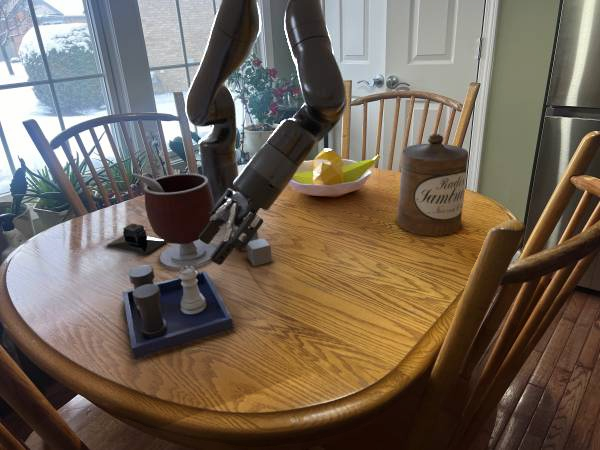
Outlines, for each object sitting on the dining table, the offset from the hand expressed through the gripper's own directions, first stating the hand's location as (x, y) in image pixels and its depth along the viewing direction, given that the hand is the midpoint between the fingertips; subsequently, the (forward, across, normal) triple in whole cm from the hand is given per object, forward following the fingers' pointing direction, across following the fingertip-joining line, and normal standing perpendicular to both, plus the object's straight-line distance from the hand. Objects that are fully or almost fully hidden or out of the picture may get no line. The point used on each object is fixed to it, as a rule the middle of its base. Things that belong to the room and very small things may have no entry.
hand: (208, 251), depth 75 cm
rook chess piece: (+10, 0, +5) cm, 11 cm away
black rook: (+15, -3, -1) cm, 16 cm away
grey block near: (-1, -12, +17) cm, 21 cm away
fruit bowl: (-25, -43, +41) cm, 64 cm away
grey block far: (-1, -20, +17) cm, 26 cm away
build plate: (+15, -34, +1) cm, 37 cm away
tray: (+13, 0, +3) cm, 13 cm away
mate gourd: (+9, -22, +7) cm, 25 cm away
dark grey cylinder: (+15, +4, -1) cm, 16 cm away
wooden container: (-32, -9, +47) cm, 58 cm away
